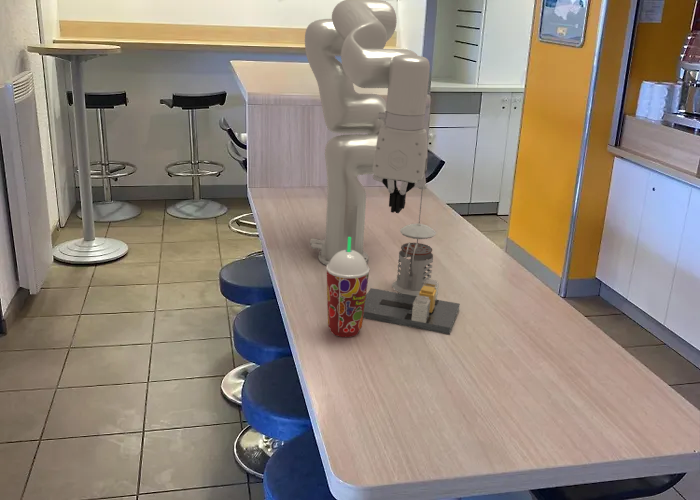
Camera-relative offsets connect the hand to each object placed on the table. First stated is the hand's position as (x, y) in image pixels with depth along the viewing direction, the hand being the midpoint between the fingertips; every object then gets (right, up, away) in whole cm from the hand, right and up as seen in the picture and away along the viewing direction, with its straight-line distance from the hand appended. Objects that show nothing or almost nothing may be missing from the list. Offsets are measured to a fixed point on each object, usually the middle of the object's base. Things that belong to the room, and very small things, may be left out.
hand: (396, 210), depth 138 cm
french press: (+5, -17, +19) cm, 26 cm away
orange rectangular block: (+7, -20, +5) cm, 22 cm away
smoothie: (-11, -24, -3) cm, 27 cm away
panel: (+3, -21, +6) cm, 23 cm away
